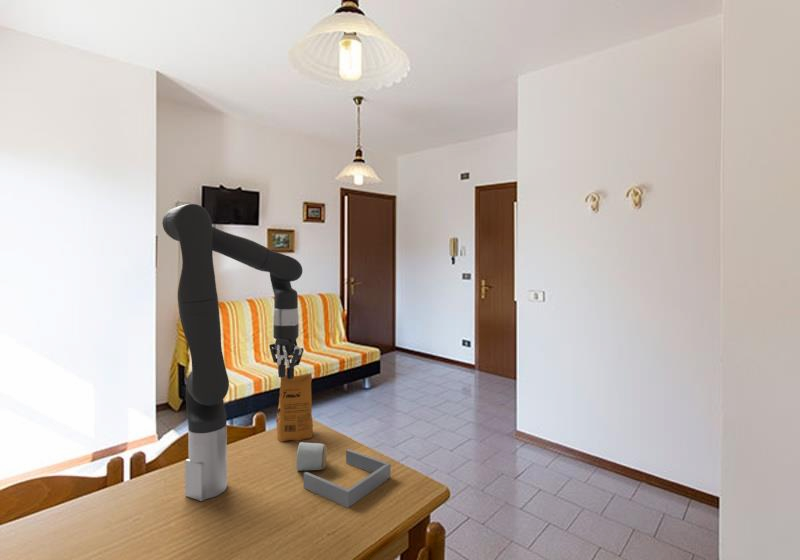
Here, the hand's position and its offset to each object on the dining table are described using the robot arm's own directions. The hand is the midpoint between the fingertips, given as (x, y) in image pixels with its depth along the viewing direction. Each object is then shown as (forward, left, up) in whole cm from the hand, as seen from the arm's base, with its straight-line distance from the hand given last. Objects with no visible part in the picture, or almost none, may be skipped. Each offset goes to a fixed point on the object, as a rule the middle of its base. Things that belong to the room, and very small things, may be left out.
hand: (286, 377), depth 128 cm
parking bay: (-4, -25, -25) cm, 36 cm away
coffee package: (+14, +8, -25) cm, 30 cm away
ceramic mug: (-1, -11, -25) cm, 28 cm away
